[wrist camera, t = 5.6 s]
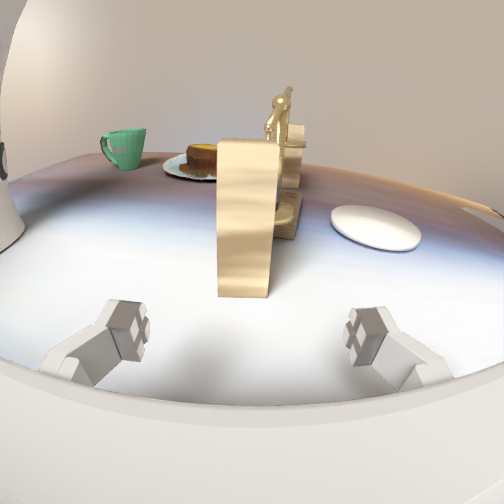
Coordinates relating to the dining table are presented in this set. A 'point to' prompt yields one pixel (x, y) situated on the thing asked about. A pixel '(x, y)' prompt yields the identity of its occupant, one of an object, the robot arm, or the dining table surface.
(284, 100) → the balance
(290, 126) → the column
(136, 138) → the mug
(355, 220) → the dish
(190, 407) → the robot arm
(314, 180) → the dining table surface
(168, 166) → the food on plate
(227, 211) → the column
